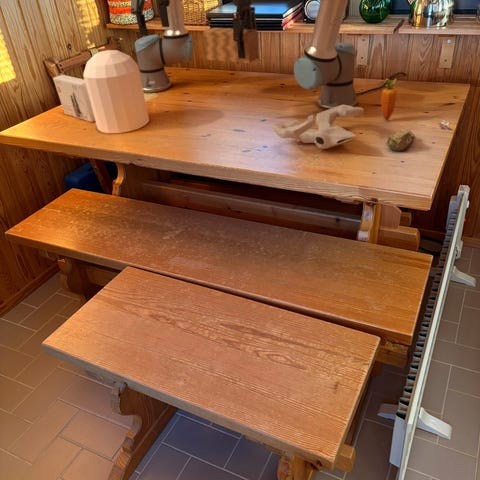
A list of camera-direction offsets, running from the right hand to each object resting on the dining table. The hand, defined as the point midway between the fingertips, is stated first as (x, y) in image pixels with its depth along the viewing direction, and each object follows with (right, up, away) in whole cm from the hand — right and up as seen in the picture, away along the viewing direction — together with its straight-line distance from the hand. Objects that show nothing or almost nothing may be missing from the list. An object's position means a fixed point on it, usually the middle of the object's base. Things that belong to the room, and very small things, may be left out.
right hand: (246, 55), depth 190 cm
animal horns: (+26, -45, -37) cm, 64 cm away
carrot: (+50, -33, -24) cm, 65 cm away
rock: (+49, -46, -42) cm, 79 cm away
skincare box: (-70, -23, +8) cm, 75 cm away
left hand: (-33, -2, -26) cm, 42 cm away
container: (-50, -29, -3) cm, 58 cm away
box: (-6, 0, +5) cm, 8 cm away
